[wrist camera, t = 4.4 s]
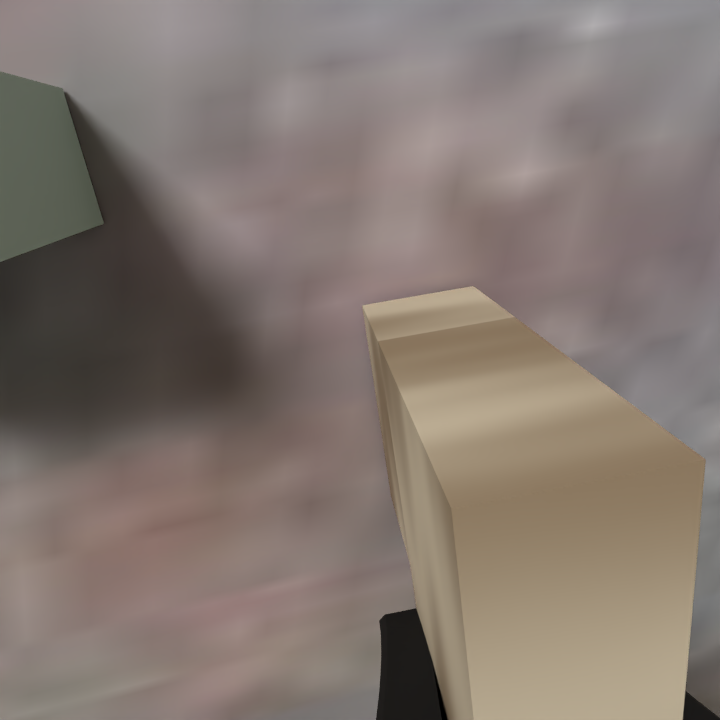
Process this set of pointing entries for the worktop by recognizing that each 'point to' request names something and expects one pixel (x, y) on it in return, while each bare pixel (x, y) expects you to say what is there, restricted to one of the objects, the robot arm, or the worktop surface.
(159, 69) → the worktop surface
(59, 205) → the notched rail
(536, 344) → the birch board
